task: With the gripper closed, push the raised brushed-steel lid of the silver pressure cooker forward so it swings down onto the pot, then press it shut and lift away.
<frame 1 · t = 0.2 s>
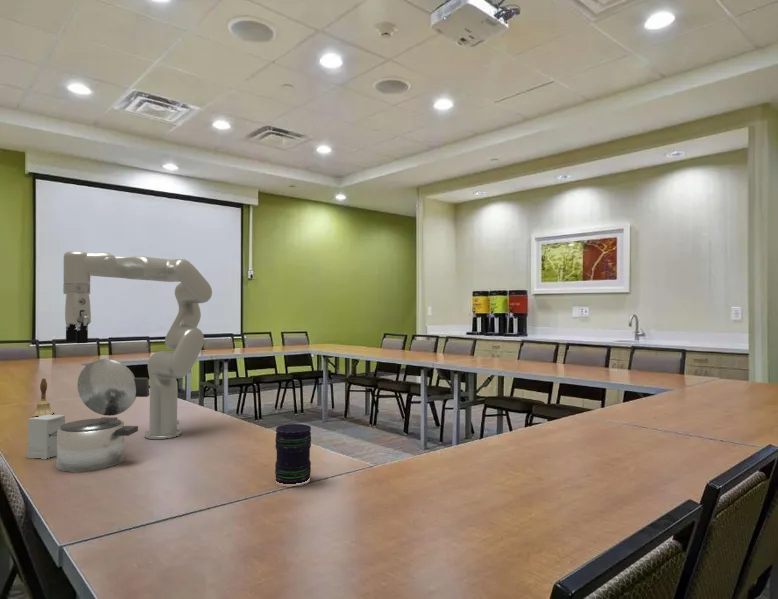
hand: (76, 342, 169), 37 cm above the table, tool pointing down, fingers open, 9 cm apart
cooker lid: (115, 385, 171), point 22 cm above the table, hinge at 80.0°
supplement box: (46, 456, 168), on the table
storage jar: (292, 482, 145), on the table
cooker pot: (90, 462, 160), on the table
hand bell: (43, 415, 229), on the table
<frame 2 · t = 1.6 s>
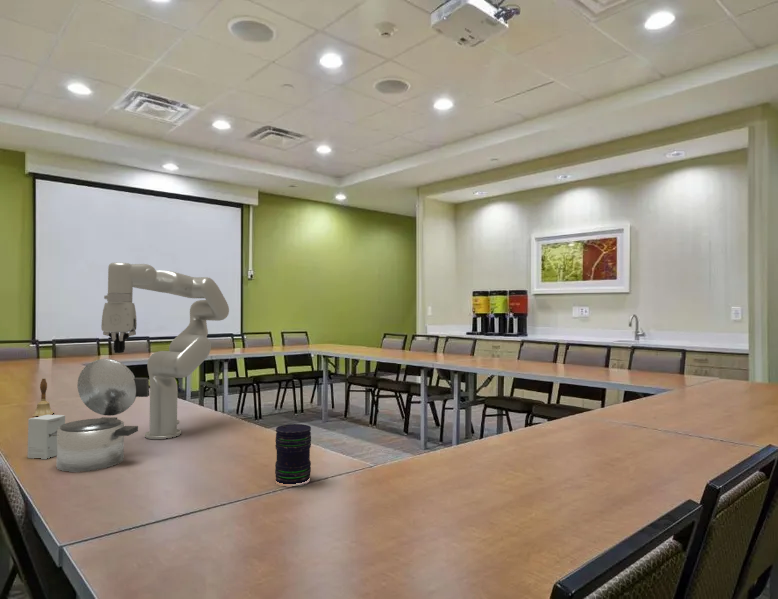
hand: (119, 352, 177), 33 cm above the table, tool pointing down, fingers closed
nothing on the table moved.
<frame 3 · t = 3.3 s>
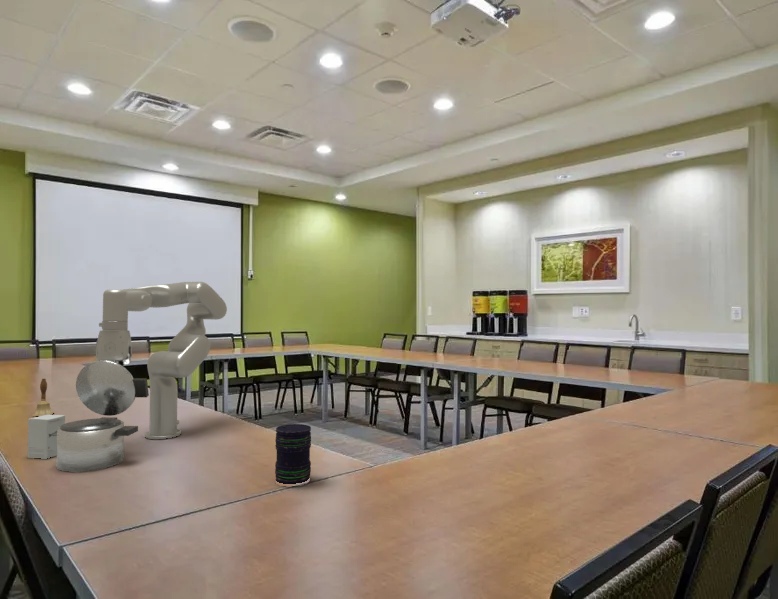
hand: (114, 381, 174), 23 cm above the table, tool pointing down, fingers closed
cooker lid: (114, 386, 170), point 22 cm above the table, hinge at 75.7°, touching gripper
everything else where it was.
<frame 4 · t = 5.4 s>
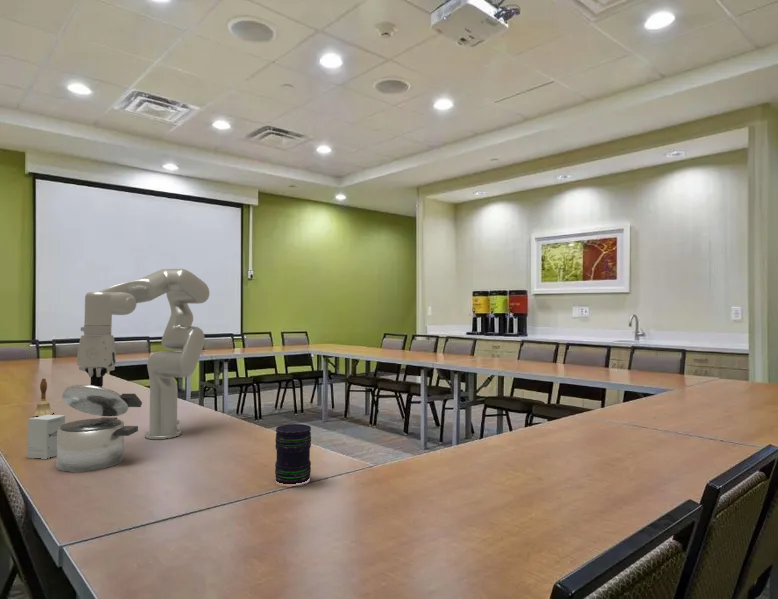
hand: (96, 389, 163), 22 cm above the table, tool pointing down, fingers closed
cooker lid: (103, 397, 164), point 20 cm above the table, hinge at 37.6°, touching gripper
everything else where it was.
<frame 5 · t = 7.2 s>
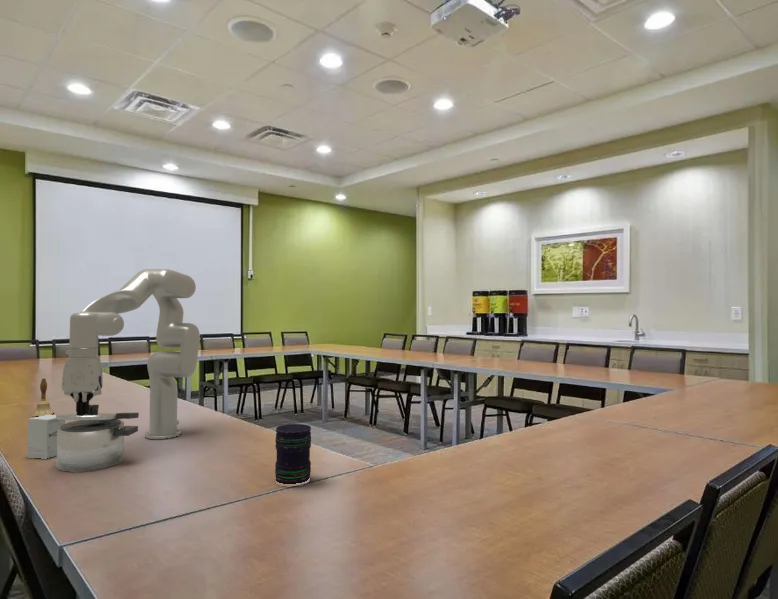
hand: (82, 414, 156), 16 cm above the table, tool pointing down, fingers closed
cooker lid: (98, 411, 161), point 16 cm above the table, hinge at 9.4°, touching gripper
everything else where it was.
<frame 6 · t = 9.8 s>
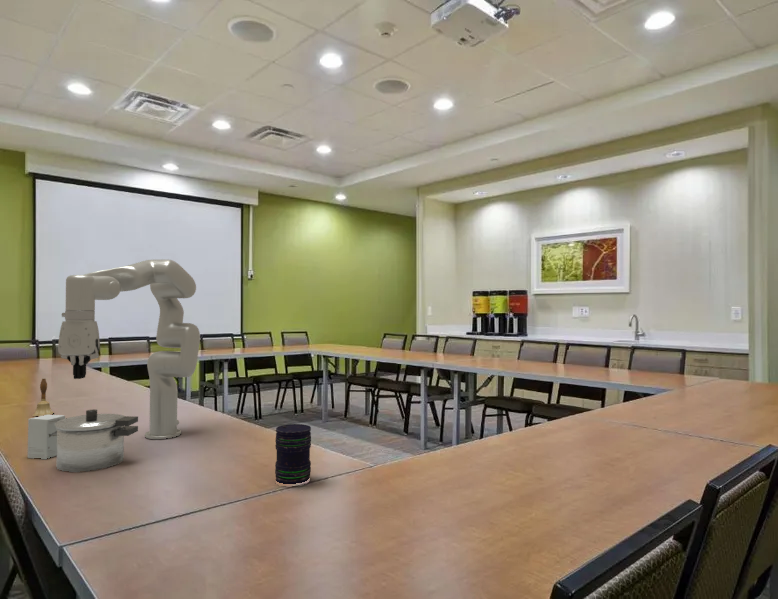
hand: (79, 378, 154), 27 cm above the table, tool pointing down, fingers closed
cooker lid: (97, 417, 161), point 14 cm above the table, hinge at 0.0°, touching cooker pot
everything else where it was.
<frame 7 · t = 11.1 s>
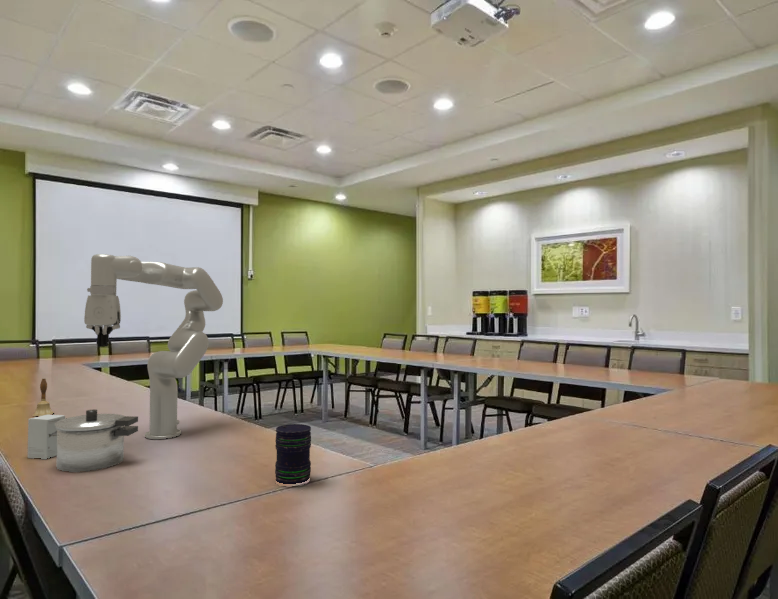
hand: (102, 346, 173), 35 cm above the table, tool pointing down, fingers closed
nothing on the table moved.
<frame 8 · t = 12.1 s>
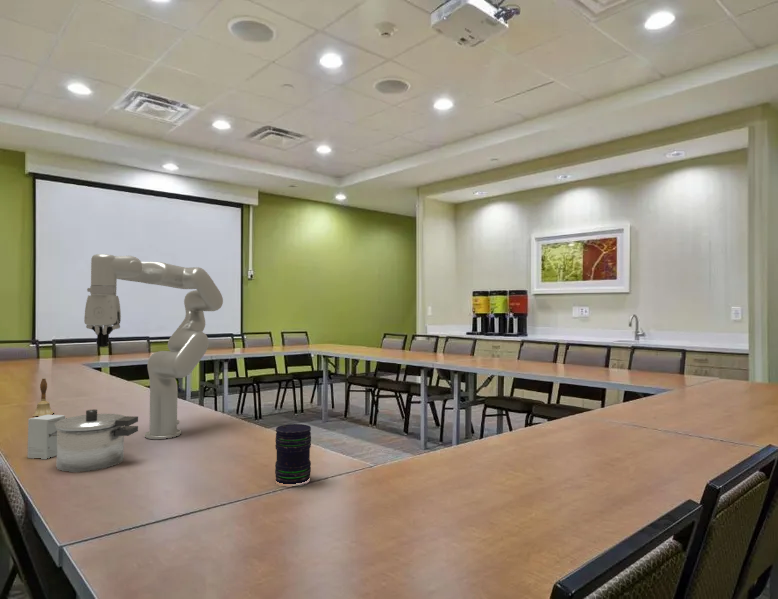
hand: (102, 346, 173), 35 cm above the table, tool pointing down, fingers closed
nothing on the table moved.
at the end: cooker lid at +0° (first picture: +80°); supplement box moved 0.2 cm from its start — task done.
